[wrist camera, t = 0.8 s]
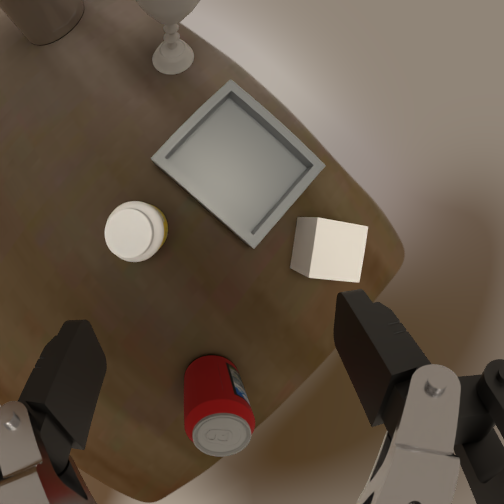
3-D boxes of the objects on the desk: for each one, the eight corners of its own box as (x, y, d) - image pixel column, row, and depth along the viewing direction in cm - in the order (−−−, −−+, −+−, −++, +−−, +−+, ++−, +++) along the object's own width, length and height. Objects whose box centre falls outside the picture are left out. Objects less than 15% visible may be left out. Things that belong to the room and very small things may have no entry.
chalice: (133, 56, 29) (104, -44, 12) (177, 26, 30) (179, -77, 12) (168, 92, 31) (155, -7, 13) (214, 60, 31) (237, -43, 14)
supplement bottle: (145, 263, 32) (127, 282, 23) (112, 228, 31) (82, 233, 22) (179, 228, 33) (174, 233, 23) (145, 193, 32) (127, 184, 22)
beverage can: (233, 400, 36) (252, 461, 25) (181, 395, 35) (182, 458, 23) (242, 355, 36) (265, 410, 24) (186, 348, 34) (187, 405, 23)
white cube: (289, 268, 36) (308, 277, 30) (297, 216, 35) (317, 217, 29) (334, 272, 37) (359, 282, 31) (342, 224, 37) (368, 226, 31)
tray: (154, 163, 31) (150, 158, 28) (227, 89, 32) (230, 79, 29) (248, 246, 34) (254, 248, 32) (315, 169, 35) (325, 165, 32)
